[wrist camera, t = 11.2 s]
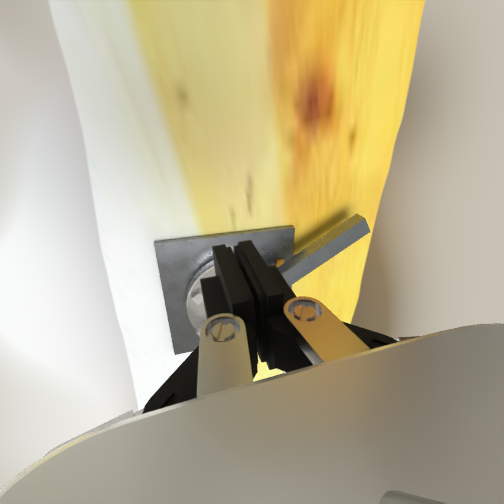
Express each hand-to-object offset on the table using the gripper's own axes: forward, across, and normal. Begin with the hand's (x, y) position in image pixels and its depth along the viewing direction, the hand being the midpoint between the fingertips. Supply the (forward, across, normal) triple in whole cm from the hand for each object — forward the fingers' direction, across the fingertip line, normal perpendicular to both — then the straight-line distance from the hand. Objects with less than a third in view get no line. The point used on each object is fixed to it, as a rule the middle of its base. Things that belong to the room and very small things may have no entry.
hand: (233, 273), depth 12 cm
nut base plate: (+26, -4, +21) cm, 33 cm away
